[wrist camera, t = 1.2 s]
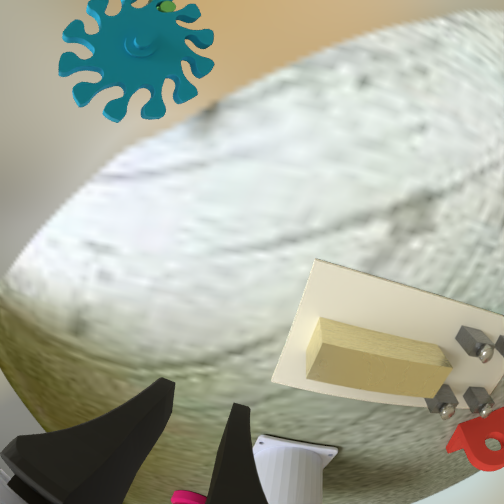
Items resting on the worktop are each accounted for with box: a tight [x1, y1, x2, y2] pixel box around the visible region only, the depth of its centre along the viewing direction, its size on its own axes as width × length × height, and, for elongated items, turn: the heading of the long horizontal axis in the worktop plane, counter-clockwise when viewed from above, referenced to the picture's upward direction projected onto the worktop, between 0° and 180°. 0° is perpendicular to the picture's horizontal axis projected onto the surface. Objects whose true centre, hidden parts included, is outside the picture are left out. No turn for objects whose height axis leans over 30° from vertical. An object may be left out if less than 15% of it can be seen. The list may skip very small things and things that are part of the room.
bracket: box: [446, 407, 504, 471], centre depth 15 cm, size 12×4×8 cm, turn 95°
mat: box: [271, 259, 504, 409], centre depth 18 cm, size 10×23×1 cm, turn 76°
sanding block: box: [306, 317, 453, 398], centre depth 16 cm, size 3×10×3 cm, turn 76°
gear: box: [59, 0, 214, 123], centre depth 14 cm, size 11×6×10 cm
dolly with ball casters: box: [424, 325, 504, 420], centre depth 15 cm, size 7×8×3 cm
